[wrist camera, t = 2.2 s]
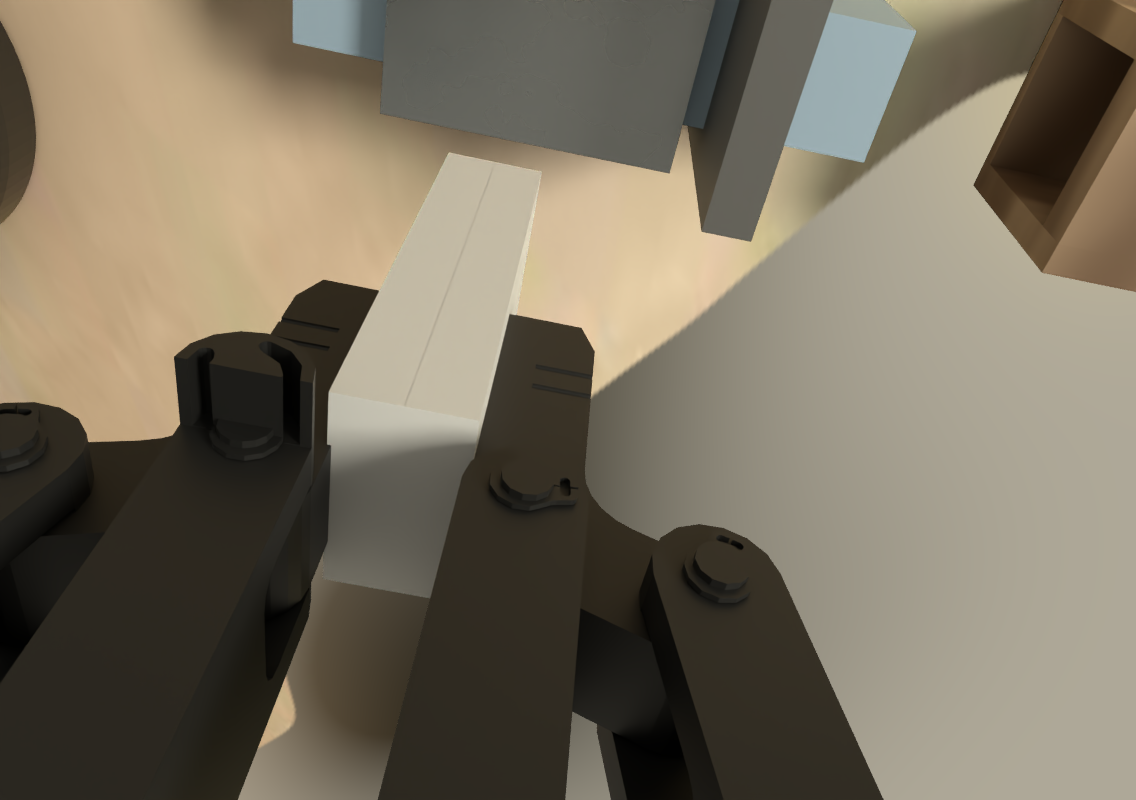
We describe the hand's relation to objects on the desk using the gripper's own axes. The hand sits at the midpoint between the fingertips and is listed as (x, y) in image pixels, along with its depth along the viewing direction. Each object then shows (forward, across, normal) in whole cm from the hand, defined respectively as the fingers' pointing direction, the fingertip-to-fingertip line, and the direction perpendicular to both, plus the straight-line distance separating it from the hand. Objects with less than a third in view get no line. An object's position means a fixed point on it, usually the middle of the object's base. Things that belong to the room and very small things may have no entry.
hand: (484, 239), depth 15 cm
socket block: (+19, +18, 0) cm, 27 cm away
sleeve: (+19, 0, 0) cm, 19 cm away
